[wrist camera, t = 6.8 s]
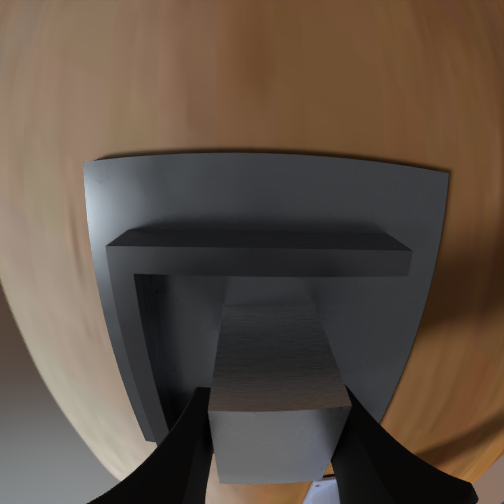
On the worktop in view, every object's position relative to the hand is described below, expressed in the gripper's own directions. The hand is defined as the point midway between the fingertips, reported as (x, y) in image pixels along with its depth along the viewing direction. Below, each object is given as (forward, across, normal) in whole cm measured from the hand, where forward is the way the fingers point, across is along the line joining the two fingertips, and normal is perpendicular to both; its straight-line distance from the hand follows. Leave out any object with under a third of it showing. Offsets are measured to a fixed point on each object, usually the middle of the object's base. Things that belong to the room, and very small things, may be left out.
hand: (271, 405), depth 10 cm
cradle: (+4, 0, 0) cm, 4 cm away
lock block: (+3, 0, 0) cm, 4 cm away
